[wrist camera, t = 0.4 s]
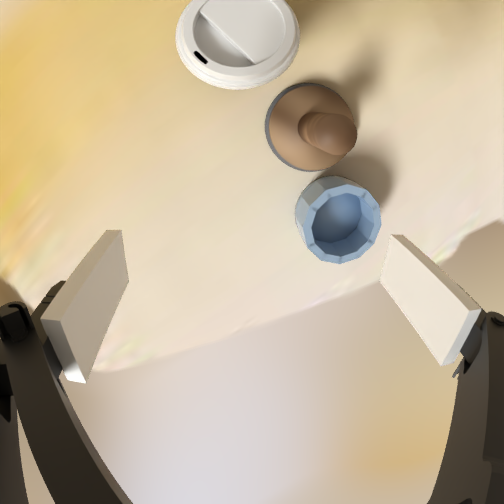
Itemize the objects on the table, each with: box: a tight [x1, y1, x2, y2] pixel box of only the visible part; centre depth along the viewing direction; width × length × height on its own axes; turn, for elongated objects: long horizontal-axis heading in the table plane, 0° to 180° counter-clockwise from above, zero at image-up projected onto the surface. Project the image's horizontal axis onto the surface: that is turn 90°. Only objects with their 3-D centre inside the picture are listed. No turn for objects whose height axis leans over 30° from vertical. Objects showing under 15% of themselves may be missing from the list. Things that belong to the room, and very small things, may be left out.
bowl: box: [295, 176, 381, 264], centre depth 38 cm, size 10×10×5 cm
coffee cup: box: [175, 0, 300, 90], centre depth 23 cm, size 10×10×15 cm
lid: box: [269, 86, 357, 170], centre depth 30 cm, size 10×10×9 cm
